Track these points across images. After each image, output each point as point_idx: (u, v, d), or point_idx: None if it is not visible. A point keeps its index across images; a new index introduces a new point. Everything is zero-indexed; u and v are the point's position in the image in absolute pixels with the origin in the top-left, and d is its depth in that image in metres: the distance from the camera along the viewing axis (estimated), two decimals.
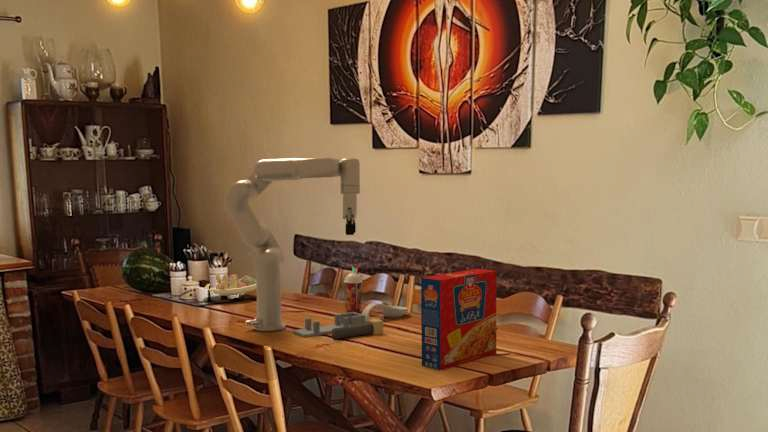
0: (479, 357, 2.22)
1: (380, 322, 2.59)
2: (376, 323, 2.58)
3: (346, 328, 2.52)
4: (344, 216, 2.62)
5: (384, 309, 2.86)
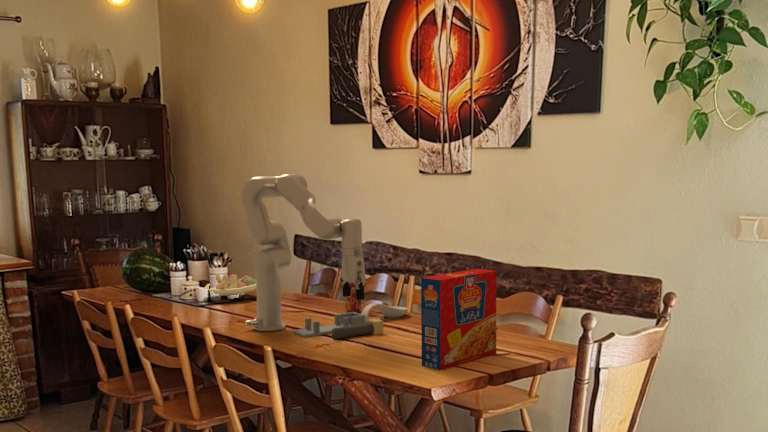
0: (479, 357, 2.22)
1: (380, 322, 2.59)
2: (376, 323, 2.58)
3: (346, 328, 2.52)
4: None
5: (384, 309, 2.85)
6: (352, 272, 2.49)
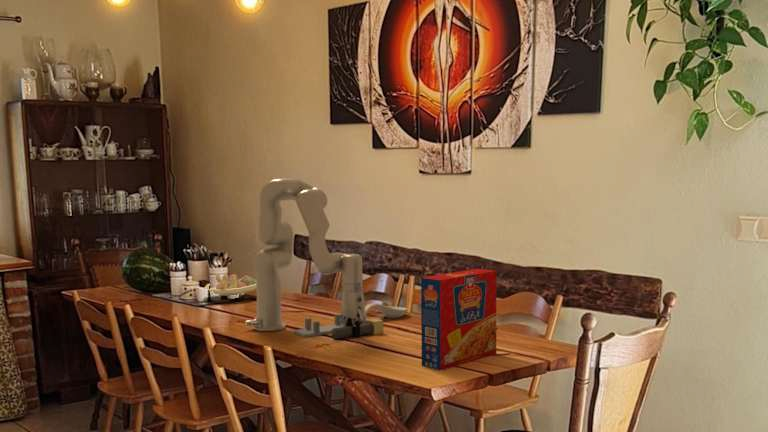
0: (479, 357, 2.22)
1: (380, 322, 2.59)
2: (376, 323, 2.58)
3: (346, 328, 2.52)
4: None
5: (383, 309, 2.85)
6: (352, 308, 2.50)
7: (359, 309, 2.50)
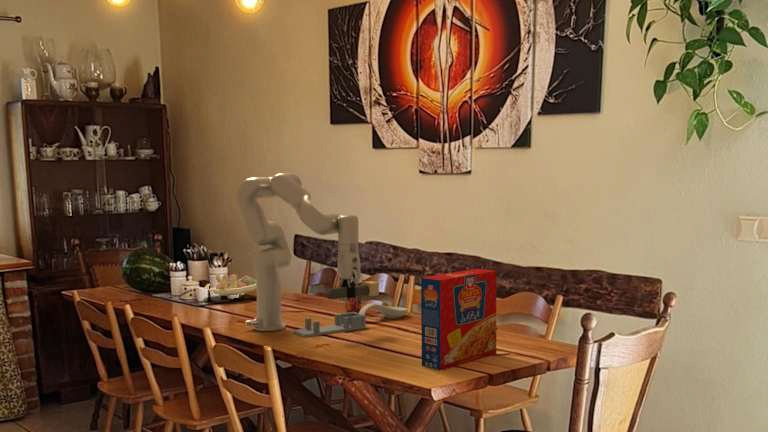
0: (479, 357, 2.22)
1: (376, 284, 2.59)
2: (372, 285, 2.58)
3: (341, 288, 2.53)
4: None
5: (382, 310, 2.84)
6: (347, 268, 2.51)
7: (354, 269, 2.51)
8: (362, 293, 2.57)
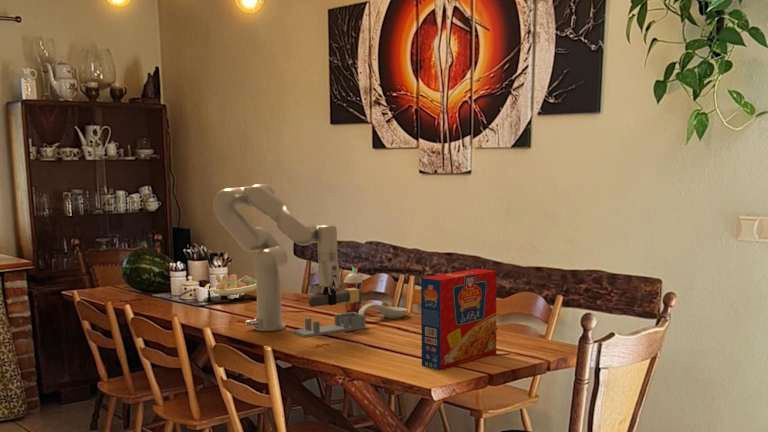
0: (479, 357, 2.22)
1: (356, 290, 2.68)
2: (352, 291, 2.67)
3: (322, 296, 2.61)
4: None
5: (381, 310, 2.84)
6: (327, 276, 2.59)
7: (334, 277, 2.59)
8: (343, 300, 2.65)
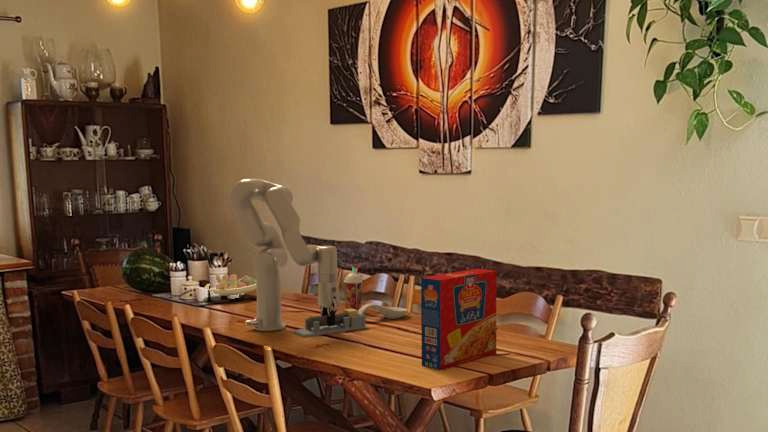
0: (479, 357, 2.22)
1: (355, 311, 2.68)
2: (351, 312, 2.67)
3: (321, 317, 2.62)
4: None
5: (381, 310, 2.84)
6: (327, 297, 2.60)
7: (334, 299, 2.60)
8: (342, 321, 2.66)
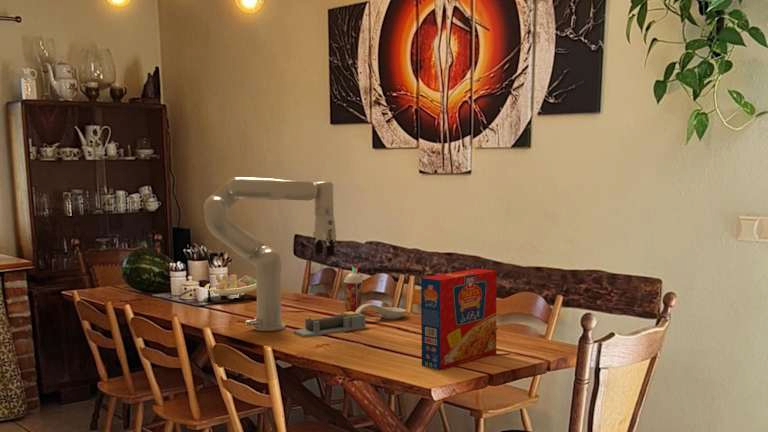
0: (479, 357, 2.22)
1: (355, 314, 2.68)
2: (351, 315, 2.67)
3: (321, 320, 2.62)
4: None
5: (379, 310, 2.83)
6: (323, 230, 2.71)
7: None
8: (341, 324, 2.66)
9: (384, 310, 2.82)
